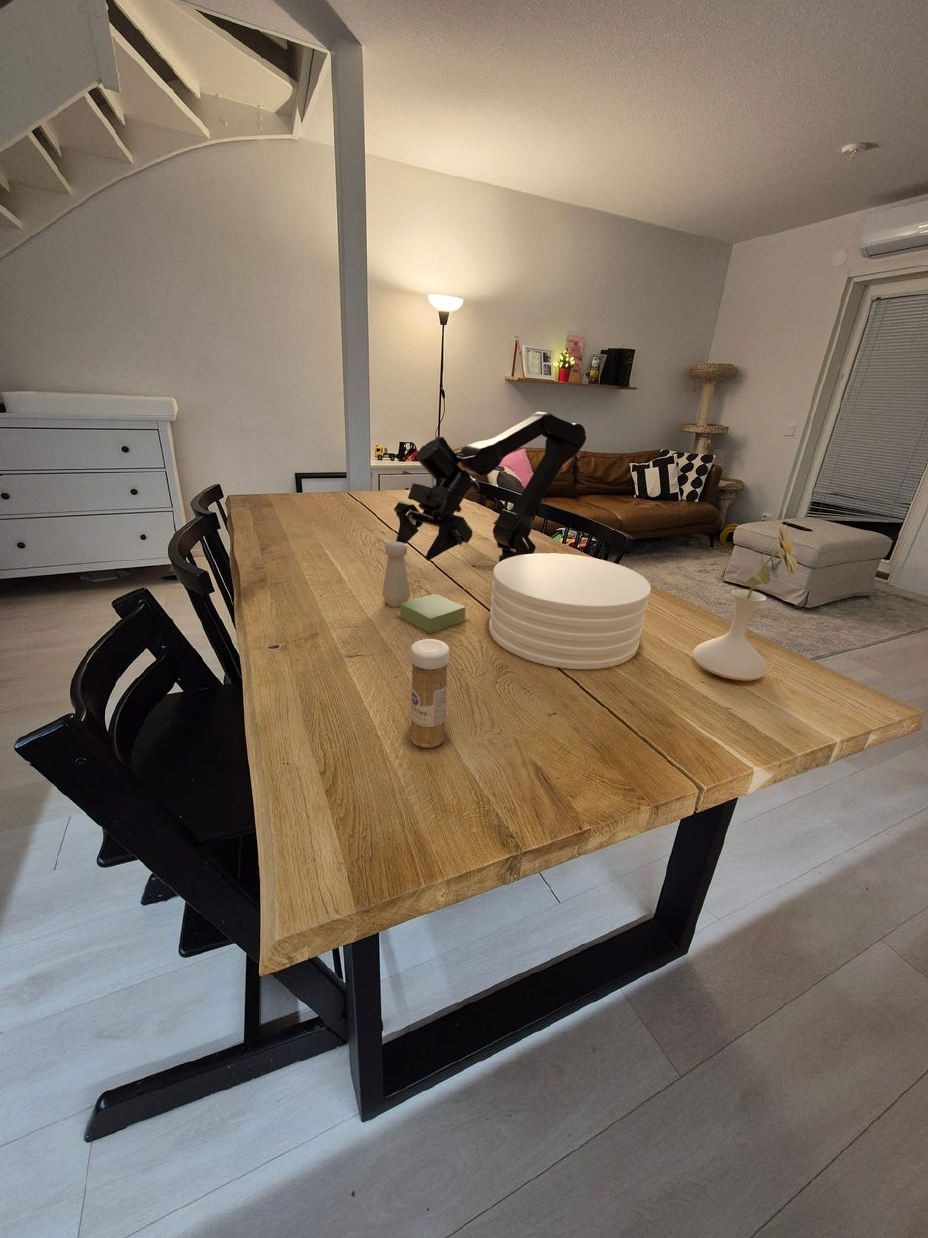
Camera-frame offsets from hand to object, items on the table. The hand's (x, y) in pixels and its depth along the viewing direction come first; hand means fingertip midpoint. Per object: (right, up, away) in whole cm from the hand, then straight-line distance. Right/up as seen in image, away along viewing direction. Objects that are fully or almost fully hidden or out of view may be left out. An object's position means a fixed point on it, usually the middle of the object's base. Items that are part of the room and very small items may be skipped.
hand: (411, 554), depth 103 cm
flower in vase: (+56, -22, -17) cm, 63 cm away
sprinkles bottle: (+6, -29, -39) cm, 49 cm away
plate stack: (+30, -16, -7) cm, 35 cm away
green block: (+5, -14, -5) cm, 15 cm away
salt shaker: (-3, -10, +1) cm, 11 cm away
